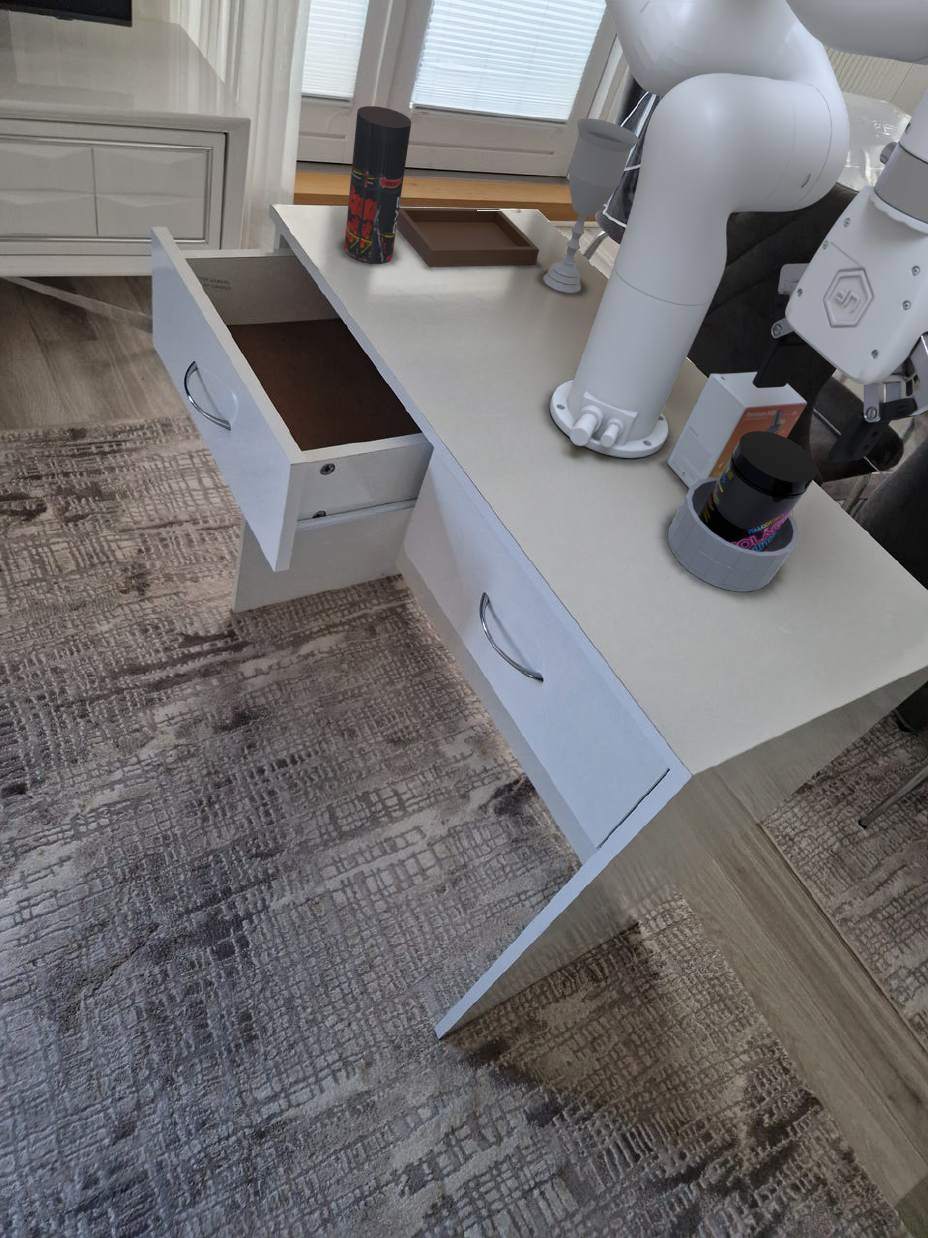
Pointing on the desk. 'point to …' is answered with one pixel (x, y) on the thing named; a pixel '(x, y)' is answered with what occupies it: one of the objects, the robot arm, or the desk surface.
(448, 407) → the desk surface
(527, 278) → the desk surface
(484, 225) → the walnut tray
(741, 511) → the supplement container
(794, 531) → the gray bowl
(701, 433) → the small box
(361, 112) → the deodorant
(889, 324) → the robot arm
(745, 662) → the desk surface
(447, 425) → the desk surface
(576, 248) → the chalice
